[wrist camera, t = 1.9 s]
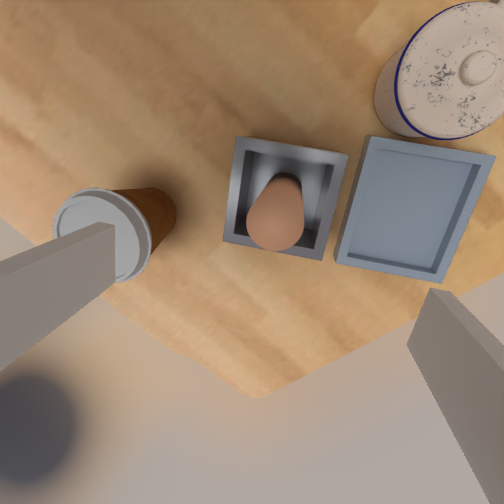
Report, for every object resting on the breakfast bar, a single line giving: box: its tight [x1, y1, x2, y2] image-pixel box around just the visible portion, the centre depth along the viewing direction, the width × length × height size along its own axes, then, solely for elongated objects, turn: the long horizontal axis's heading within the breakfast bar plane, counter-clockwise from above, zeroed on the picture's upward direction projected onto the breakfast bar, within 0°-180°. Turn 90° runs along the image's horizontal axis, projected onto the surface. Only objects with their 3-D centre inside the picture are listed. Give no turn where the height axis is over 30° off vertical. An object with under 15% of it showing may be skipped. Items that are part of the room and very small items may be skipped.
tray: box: [334, 136, 496, 284], centre depth 34 cm, size 14×12×2 cm
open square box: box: [223, 136, 349, 261], centre depth 32 cm, size 10×10×8 cm
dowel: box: [246, 172, 304, 251], centre depth 28 cm, size 4×4×15 cm
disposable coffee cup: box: [53, 188, 176, 283], centre depth 34 cm, size 10×10×12 cm
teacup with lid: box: [374, 0, 504, 140], centre depth 25 cm, size 12×9×12 cm
